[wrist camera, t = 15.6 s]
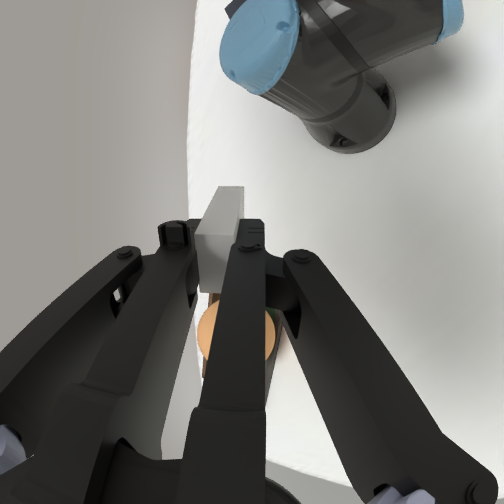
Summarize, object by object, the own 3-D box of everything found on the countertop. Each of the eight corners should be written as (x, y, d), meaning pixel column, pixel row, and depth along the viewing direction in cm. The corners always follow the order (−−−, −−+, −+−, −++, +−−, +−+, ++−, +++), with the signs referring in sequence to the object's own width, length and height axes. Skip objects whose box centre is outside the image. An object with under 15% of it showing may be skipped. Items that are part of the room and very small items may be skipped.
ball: (259, 346, 55) (226, 291, 55) (303, 342, 45) (265, 275, 45) (210, 384, 47) (172, 324, 47) (249, 392, 37) (201, 317, 37)
